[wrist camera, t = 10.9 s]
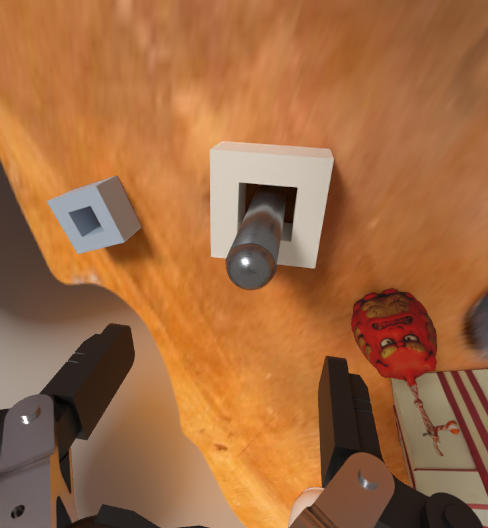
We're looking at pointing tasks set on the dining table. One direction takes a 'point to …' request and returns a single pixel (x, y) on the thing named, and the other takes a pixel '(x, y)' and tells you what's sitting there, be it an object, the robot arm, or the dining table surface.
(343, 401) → the robot arm
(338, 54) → the dining table surface
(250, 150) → the white square-hole block
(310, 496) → the lidded jar
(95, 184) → the blue-grey square-hole block
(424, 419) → the red clay folk toy
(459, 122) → the dining table surface
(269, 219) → the grey metal peg
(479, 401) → the gift box
